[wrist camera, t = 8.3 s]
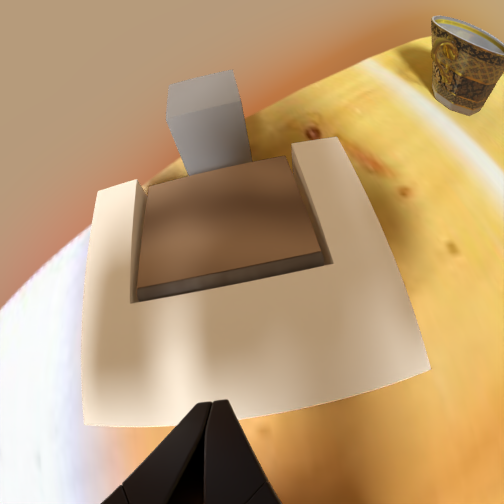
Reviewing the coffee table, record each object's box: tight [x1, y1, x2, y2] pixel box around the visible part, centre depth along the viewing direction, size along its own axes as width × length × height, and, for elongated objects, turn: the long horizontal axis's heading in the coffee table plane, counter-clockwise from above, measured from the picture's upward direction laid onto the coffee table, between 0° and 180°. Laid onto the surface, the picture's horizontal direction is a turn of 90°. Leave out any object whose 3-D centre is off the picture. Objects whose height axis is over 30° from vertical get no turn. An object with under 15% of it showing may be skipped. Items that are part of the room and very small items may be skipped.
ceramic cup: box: [431, 16, 504, 116], centre depth 24 cm, size 13×10×10 cm
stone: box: [166, 70, 252, 176], centre depth 23 cm, size 5×5×8 cm
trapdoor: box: [137, 156, 324, 302], centre depth 17 cm, size 9×9×1 cm
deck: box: [81, 137, 431, 427], centre depth 18 cm, size 14×16×6 cm
